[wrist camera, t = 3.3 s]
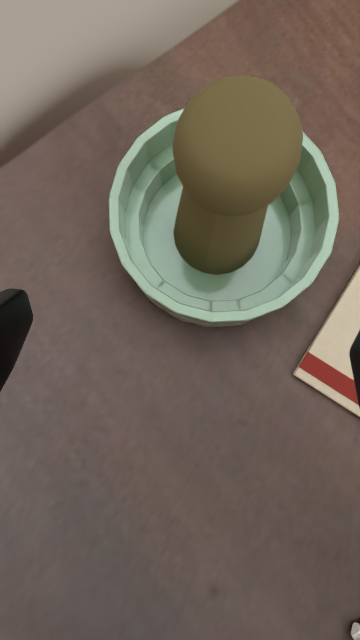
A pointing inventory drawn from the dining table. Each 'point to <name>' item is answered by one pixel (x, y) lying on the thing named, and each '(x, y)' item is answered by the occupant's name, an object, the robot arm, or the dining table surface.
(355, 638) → the game pieces
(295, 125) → the cork
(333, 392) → the towel
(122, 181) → the bowl
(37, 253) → the dining table surface
